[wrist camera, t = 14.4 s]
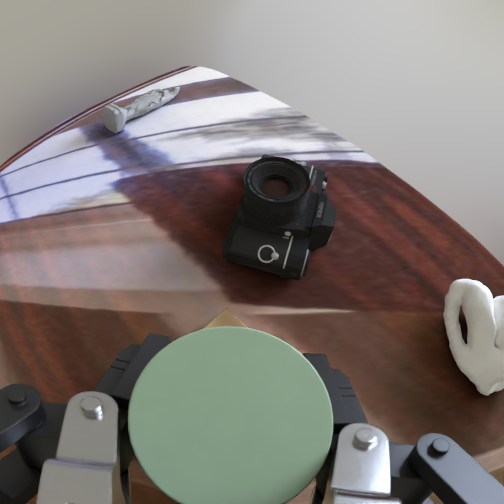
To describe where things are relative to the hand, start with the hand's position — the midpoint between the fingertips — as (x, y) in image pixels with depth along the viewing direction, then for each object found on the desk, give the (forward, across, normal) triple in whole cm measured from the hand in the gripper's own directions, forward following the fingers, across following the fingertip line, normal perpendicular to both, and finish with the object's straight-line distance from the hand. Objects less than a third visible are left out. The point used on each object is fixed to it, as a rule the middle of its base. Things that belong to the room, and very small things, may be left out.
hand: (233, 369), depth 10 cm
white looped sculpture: (+12, -23, +6) cm, 26 cm away
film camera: (+20, -3, -3) cm, 21 cm away
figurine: (+32, +16, -15) cm, 39 cm away
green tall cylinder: (+2, 0, +5) cm, 5 cm away
